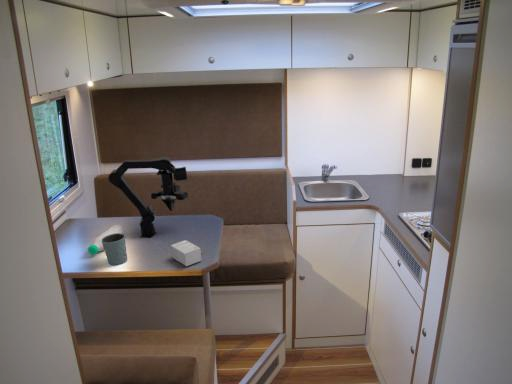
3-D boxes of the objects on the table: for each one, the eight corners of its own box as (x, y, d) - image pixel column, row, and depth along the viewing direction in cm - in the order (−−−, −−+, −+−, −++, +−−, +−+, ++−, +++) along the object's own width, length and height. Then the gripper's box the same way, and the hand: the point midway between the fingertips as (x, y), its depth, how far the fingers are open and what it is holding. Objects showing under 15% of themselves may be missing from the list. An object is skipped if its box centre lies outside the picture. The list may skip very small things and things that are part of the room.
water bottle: (120, 238, 230) (94, 260, 207) (109, 230, 230) (82, 251, 206) (126, 229, 227) (100, 250, 204) (115, 221, 227) (88, 241, 204)
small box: (172, 257, 199) (186, 266, 189) (170, 244, 197) (184, 253, 188) (187, 252, 204) (201, 260, 194) (185, 239, 202) (200, 247, 192)
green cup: (132, 257, 204) (128, 233, 200) (121, 267, 194) (117, 242, 191) (113, 256, 206) (109, 232, 203) (101, 266, 197) (96, 242, 193)
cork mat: (179, 262, 195) (179, 261, 195) (191, 250, 206) (191, 249, 206) (192, 263, 193) (192, 262, 193) (204, 251, 204) (204, 250, 204)
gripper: (191, 178, 225) (194, 206, 230) (159, 177, 231) (163, 204, 236) (181, 184, 215) (184, 213, 220) (148, 183, 221) (152, 212, 226)
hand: (171, 210), depth 226 cm, fingers closed
